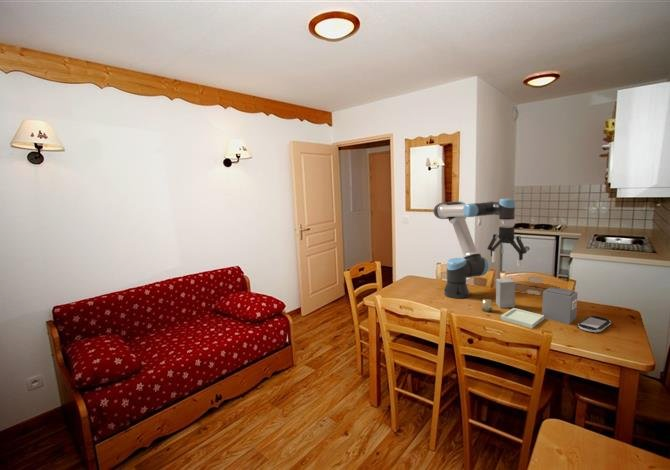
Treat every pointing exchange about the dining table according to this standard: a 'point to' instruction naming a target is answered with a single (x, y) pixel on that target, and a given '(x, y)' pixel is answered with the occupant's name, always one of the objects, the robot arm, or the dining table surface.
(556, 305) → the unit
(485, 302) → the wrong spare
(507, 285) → the skincare box
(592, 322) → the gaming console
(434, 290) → the dining table surface
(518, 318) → the tray
